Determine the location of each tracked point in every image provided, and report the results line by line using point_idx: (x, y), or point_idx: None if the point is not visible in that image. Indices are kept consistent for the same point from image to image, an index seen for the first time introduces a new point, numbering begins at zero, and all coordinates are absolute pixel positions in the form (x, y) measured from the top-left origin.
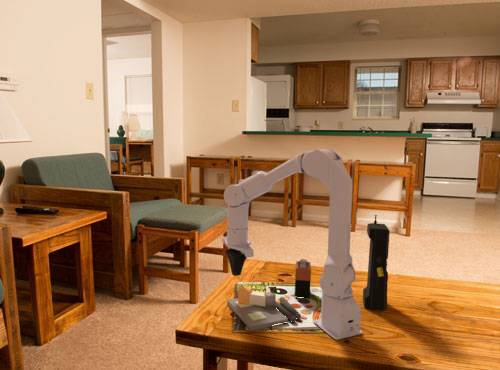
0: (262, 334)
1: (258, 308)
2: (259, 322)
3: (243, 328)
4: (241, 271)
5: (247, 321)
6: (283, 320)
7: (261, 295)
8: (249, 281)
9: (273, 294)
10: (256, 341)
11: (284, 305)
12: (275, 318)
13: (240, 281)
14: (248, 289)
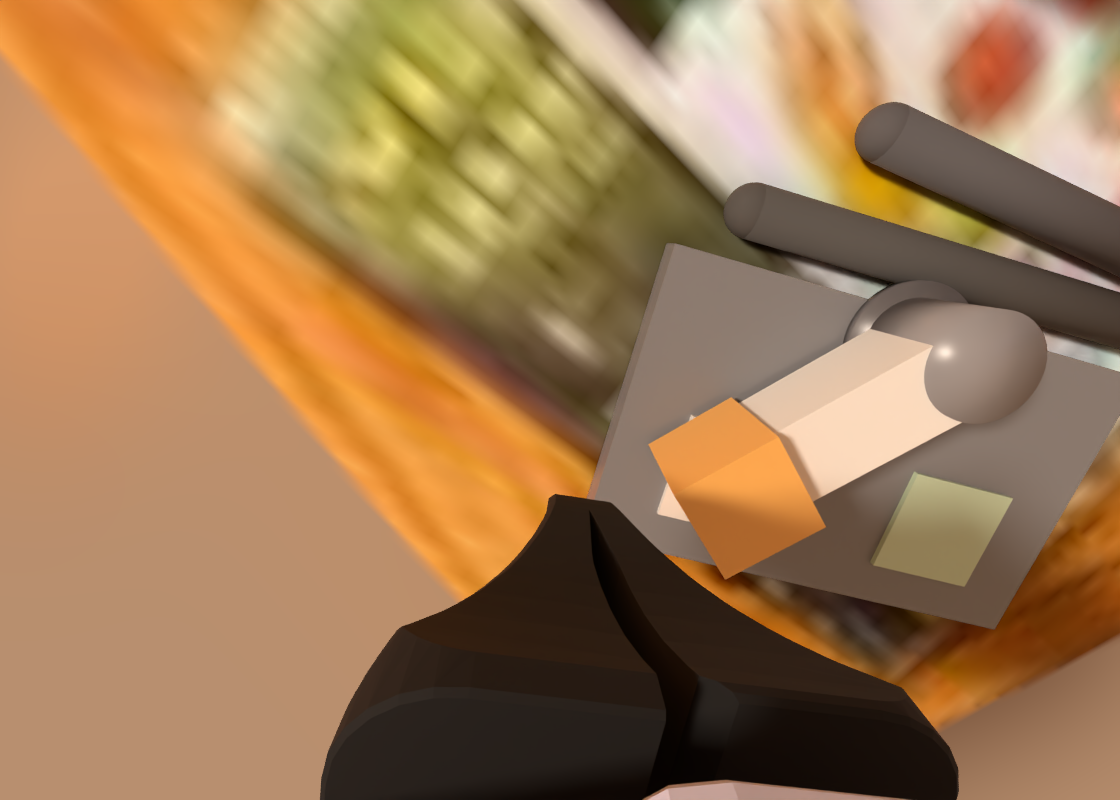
0: (1043, 584)
1: None
2: (1004, 567)
3: (911, 624)
4: (627, 519)
5: (933, 614)
6: (1112, 412)
7: (920, 435)
8: (258, 15)
9: (1013, 336)
10: (1060, 651)
11: (972, 206)
12: (1060, 447)
13: (211, 106)
14: (789, 498)
